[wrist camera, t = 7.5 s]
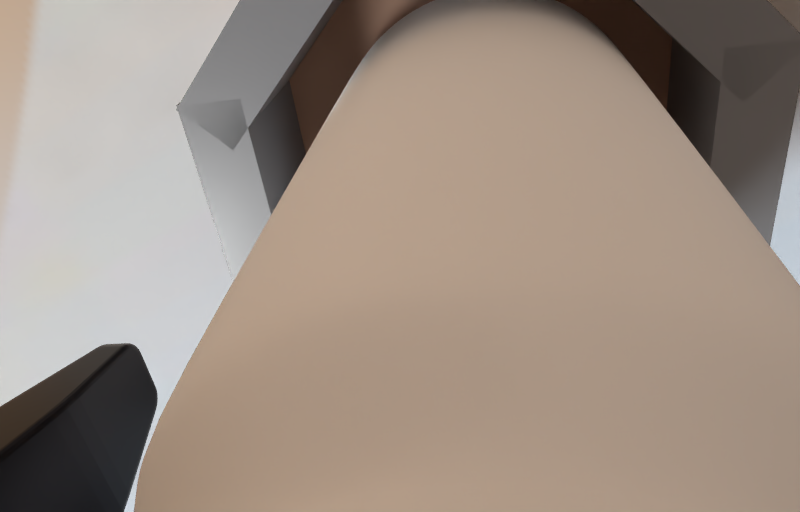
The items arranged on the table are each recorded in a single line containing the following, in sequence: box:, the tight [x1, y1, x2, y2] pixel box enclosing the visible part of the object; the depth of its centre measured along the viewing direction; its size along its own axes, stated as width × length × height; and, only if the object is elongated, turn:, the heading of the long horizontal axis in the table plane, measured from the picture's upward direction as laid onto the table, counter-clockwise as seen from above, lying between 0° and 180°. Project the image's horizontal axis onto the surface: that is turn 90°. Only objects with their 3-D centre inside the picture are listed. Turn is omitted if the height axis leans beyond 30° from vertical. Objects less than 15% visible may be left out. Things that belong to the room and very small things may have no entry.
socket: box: [176, 0, 800, 281], centre depth 13 cm, size 11×11×4 cm
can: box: [134, 0, 800, 512], centre depth 9 cm, size 6×6×12 cm
